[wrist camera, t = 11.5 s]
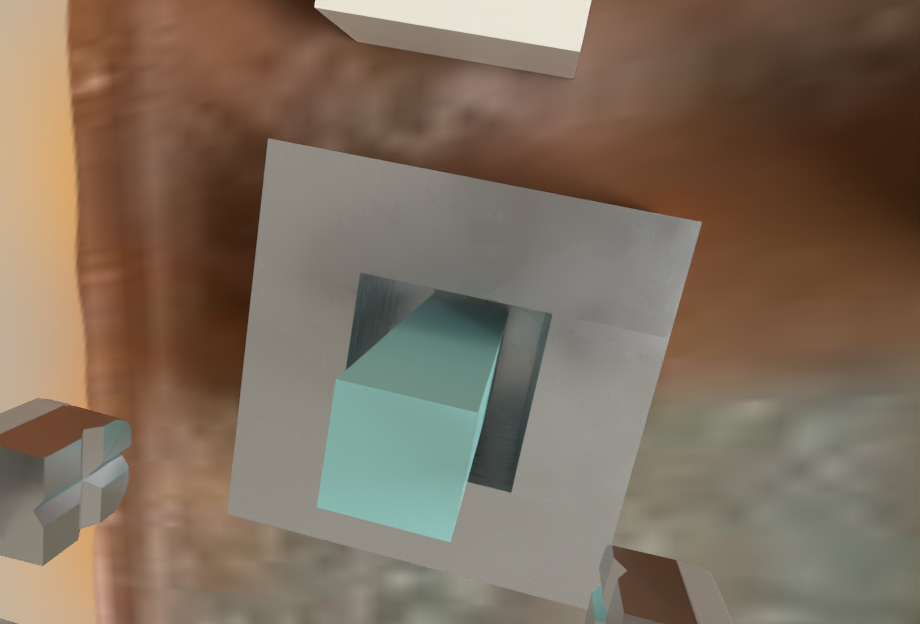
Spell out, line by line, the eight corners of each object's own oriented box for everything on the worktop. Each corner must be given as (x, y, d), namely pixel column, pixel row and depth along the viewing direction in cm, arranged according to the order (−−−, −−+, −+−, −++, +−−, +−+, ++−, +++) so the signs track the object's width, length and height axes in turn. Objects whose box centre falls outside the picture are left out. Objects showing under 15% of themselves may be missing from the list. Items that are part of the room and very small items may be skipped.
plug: (430, 295, 22) (336, 378, 12) (508, 313, 21) (477, 413, 12) (416, 371, 22) (317, 507, 13) (492, 388, 22) (450, 542, 12)
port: (341, 152, 22) (268, 138, 16) (658, 214, 21) (702, 222, 15) (302, 438, 25) (227, 514, 19) (580, 507, 23) (592, 611, 18)
